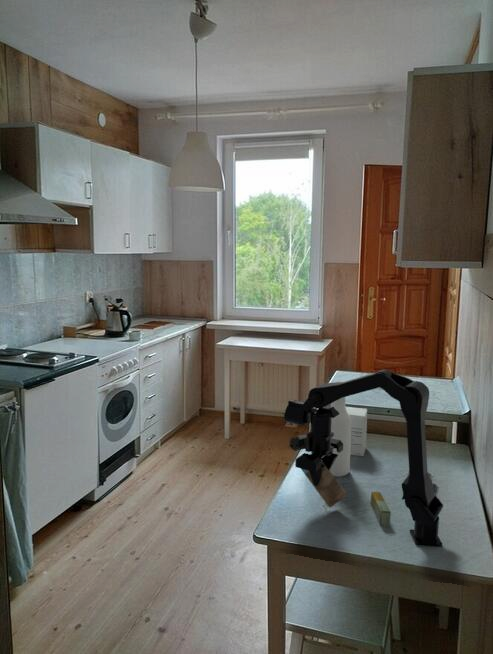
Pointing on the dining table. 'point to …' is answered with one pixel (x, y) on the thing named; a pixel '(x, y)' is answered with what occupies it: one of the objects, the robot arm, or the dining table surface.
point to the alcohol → (341, 438)
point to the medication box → (380, 508)
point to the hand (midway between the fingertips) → (319, 482)
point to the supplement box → (358, 430)
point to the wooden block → (328, 487)
